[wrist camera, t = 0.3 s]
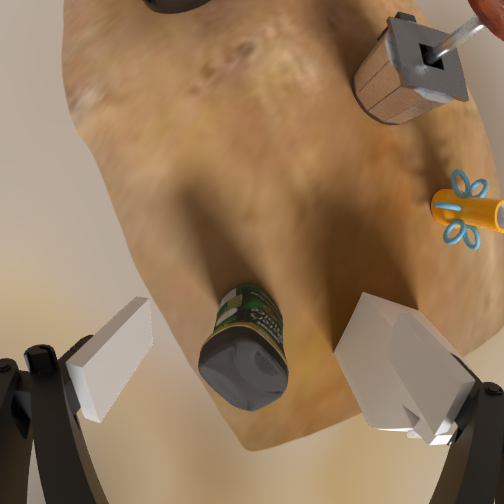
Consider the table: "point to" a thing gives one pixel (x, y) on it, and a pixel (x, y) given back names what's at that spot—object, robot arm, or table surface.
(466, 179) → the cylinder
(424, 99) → the press carafe
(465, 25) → the plunger
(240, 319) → the coffee jar
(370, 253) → the table surface
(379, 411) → the milk
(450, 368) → the robot arm
